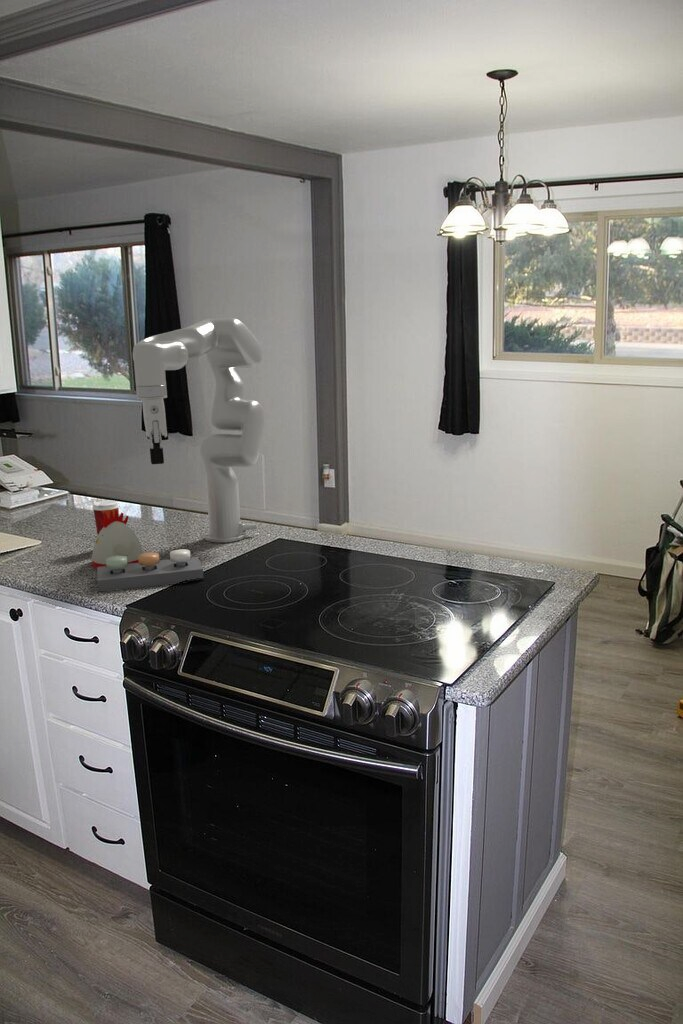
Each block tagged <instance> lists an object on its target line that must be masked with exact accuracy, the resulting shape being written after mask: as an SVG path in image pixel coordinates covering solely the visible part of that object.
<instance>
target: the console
mask: <svg viewBox="0 0 683 1024" xmlns="http://www.w3.org/2000/svg"><path fill="white" fill-rule="evenodd" d="M190 558H191V559H190V560H189V561H186V562H185V564H186V566H183V567H176V562H171V561H170V559H162V560H160V559H159V563H158V564H155V565H154V570H145V566H142V565H139V563H132V564H128V566H127V567H124V568H122V571H123V573H117V574H113V569H108V568H107V566H103V567H97V568H96V569H97V570H96V571H97V572H96V573H97V574H96V575H97V587H98V592H99V591H103V592H108V591H107V590H112V591H117V590H116V589H121V590H128V588H130V589H137V588H139V589H140V588H145V587H155V586H165V585H172V584H179V583H178V582H182V581H185V580H190V579H196V578H204V568H203V566H202V563H201V561H200V558H199V556H190Z"/></svg>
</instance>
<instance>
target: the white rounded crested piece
mask: <svg viewBox="0 0 683 1024" xmlns="http://www.w3.org/2000/svg"><path fill="white" fill-rule="evenodd" d="M99 520H100V521H101V523H102V525H103V526H104V527H103V528H102V530H101V531H100V532H99V534H97V536H96V538H95V541H94V545H93V550H92V554H91V563H92V567H93V568H95V569H97V567H103V566H107V565H106V559H107V558H109V557H112V556H126V557H127V563H128V564H132V563H139V560H138V556H139V555H140V554H143V553H144V549H143V547H142V544H141V542H140V540H139V538H138V536H137V534H136V533H135V532H134V530H133V529H132V528H131V527H130V526H129V525H128V521H129V516H128V515H126V517H125V519H124V512H121V513H119V514H118V511H117V510H115V516H113V512H112V511H110V517H109V519H108V517H107V515H106V513H105V512H104V520H102V519H101V518H99Z"/></svg>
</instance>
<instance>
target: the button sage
mask: <svg viewBox="0 0 683 1024" xmlns="http://www.w3.org/2000/svg"><path fill="white" fill-rule="evenodd" d="M106 565H107V568H108V569H113V574H117V573H123V571H122V568H124V567H127V566H128V563H127V557H126V556H112V557H109V558H107V559H106Z"/></svg>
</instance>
